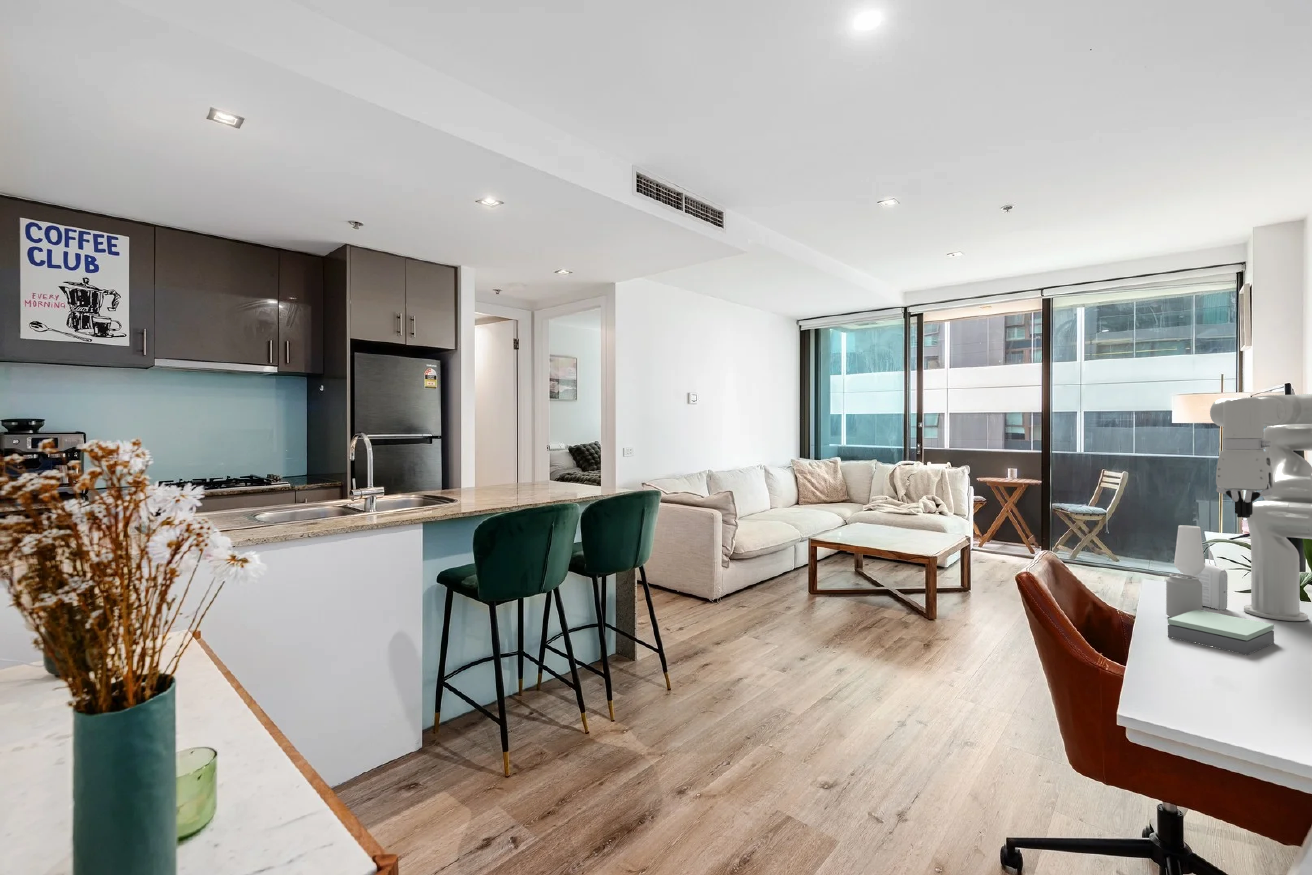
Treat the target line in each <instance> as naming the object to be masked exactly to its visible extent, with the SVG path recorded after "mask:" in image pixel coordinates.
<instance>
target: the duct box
mask: <svg viewBox="0 0 1312 875" xmlns="http://www.w3.org/2000/svg"><path fill="white" fill-rule="evenodd" d="M1167 637H1168V638H1171V637H1173V638H1172V639H1175V638H1177V639H1176V640H1180V639H1181V640H1180V641H1184V640H1185V642H1188V641H1189V642H1190V643H1193V642H1196V643H1195V644H1197V643H1200V644H1199V645H1201V644H1203V645H1202V646H1206V645H1207V646H1206V647H1210V646H1213V647H1212V648H1214V647H1216V648H1215V649H1219V648H1220V649H1219V650H1224V651H1227V650H1230V651H1229V652H1232V651H1233V652H1232V653H1237V654H1241V655H1245V654H1246V656H1248V655H1250V654H1252V653H1255V652H1257V651H1259V650H1261V649H1264V648H1266V647H1268V646H1270V645H1273V644H1275V629H1274V630H1271V631H1269V632H1266V633H1264V634H1262V635H1259V636H1257V637H1255V638H1252V639H1250V640H1247V641H1246V640H1241V639H1237V638H1232V637H1227V636H1223V635H1218V634H1213V633H1209V632H1204V631H1199V630H1195V629H1190V628H1186V627H1181V626H1176V625H1172V624H1167Z"/></svg>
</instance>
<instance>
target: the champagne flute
mask: <svg viewBox="0 0 1312 875" xmlns="http://www.w3.org/2000/svg"><path fill="white" fill-rule="evenodd" d="M1175 545H1176V546H1175V553H1174V562H1173V563H1174V564H1173V565H1174V566H1175V568H1176V569H1177V570H1178V571H1179V572H1180V574H1185V575H1192V576H1196V575H1197V574H1199V573H1200V572H1202V571H1203V569H1204V568H1205V562H1206V561H1205V555H1204V546H1203V537H1202V532H1201V527H1200V526H1197V525H1187V524H1186V525H1183V524H1182V525H1181V524H1180V525H1178V527H1177V535H1176V544H1175ZM1202 611H1204V610H1203V609H1202Z"/></svg>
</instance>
